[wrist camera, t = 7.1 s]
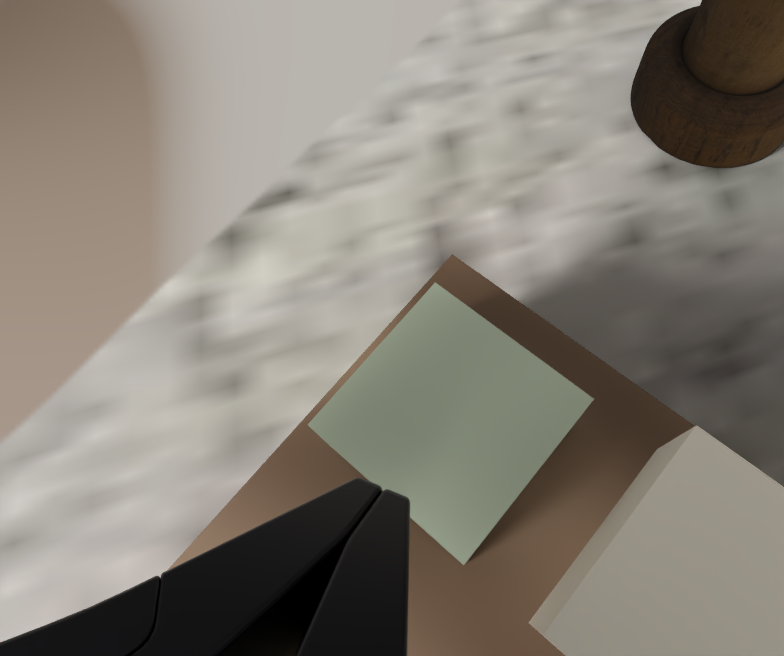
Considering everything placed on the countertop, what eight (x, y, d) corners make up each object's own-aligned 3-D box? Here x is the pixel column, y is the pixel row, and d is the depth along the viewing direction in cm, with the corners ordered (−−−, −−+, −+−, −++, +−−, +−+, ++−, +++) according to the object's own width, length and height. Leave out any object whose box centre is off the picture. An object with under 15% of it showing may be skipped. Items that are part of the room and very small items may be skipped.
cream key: (735, 808, 11) (805, 868, 9) (528, 622, 12) (543, 634, 10) (862, 600, 12) (955, 608, 10) (656, 449, 13) (696, 425, 11)
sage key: (463, 565, 15) (463, 565, 13) (328, 444, 16) (307, 424, 14) (575, 422, 16) (594, 399, 14) (438, 319, 17) (435, 282, 15)
